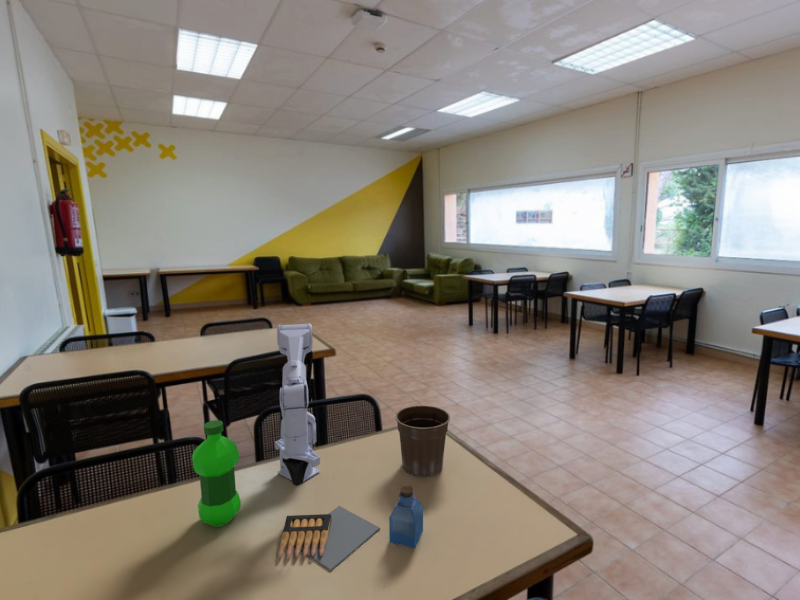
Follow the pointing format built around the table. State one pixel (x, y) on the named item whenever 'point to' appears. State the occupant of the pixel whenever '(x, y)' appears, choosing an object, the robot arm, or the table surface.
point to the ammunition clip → (305, 533)
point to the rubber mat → (342, 537)
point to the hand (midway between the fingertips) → (298, 483)
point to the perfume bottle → (406, 519)
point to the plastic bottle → (216, 476)
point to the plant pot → (422, 438)
